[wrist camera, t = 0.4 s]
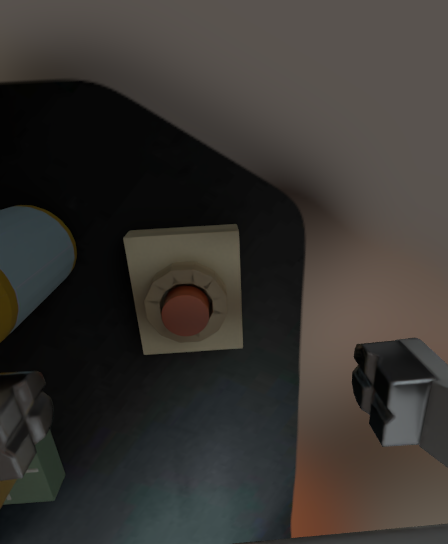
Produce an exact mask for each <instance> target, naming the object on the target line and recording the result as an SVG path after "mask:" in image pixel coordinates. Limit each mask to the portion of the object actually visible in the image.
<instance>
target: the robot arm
mask: <svg viewBox="0 0 448 544" xmlns="http://www.w3.org/2000/svg"><path fill="white" fill-rule="evenodd" d="M354 359H355V360H356V362H357V363H358V366H357V367H356V368H355V370H354V371H353V373H352V385H353V392H354V395H355V398H356V401H357V403H358V405H359V406H360V408H361V409H362V410H363V411H365V412H366V413H368V414H369V415H370V420H369V424H370V426H371V427H372V429H373V431H374V433H375V434H376V436H377V438H378V439H379V441H380V443H381V445H382V446H399V445H415V444H416V445H417V444H420V445H419V446H420V447H421V448H422V449H424V450H425V451H426V452H428V453H429V454H430V455H432V456H433V457H434V458H436V459H437V460H438V461H440V462H441V463H442V464H444V465H445V466H446V467H448V365H447V364H446V363H445V362H444V361H443V360H442V359H441V358H440V357H439V356H438V355H437V354H436V353H434V352H433V351H432V350H431V349H430V348H429V347H428V346H427V345H426V344H425V343H424V342H422V341H421V340H420V339H417V338H408V339H400V340H395V341H385V342H375V343H364V344H357V345H356V348H355V351H354ZM45 385H46V383H45V380H44V378H43V375H42V373H40V372H38V371H27V372H11V373H0V481H4V480H13V479H21V478H23V476H24V475H25V473H26V471H27V469H28V467H29V466H30V464H31V462H32V460H33V459H34V457H35V455H36V453H37V451H36V447H35V445H36V444H37V443H38V442H40V441H41V440H42V439H43V438H45V437H46V435H47V433H48V431H49V430H50V428H51V425H52V420H53V415H54V412H53V404H52V401H51V398H50V397H49V396H48V395H46V394H45V393H44V392H43V389H44V387H45ZM234 544H448V524H441V525H440V524H439V525H429V526H418V527H406V528H396V529H385V530H375V531H364V532H353V533H342V534H331V535H321V536H311V537H299V538H288V539H278V540H267V541H256V542H245V543H234Z"/></svg>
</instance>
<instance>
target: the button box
mask: <svg viewBox="0 0 448 544" xmlns="http://www.w3.org/2000/svg"><path fill="white" fill-rule="evenodd" d="M123 240H124V246H125V251H126V257H127V263H128V268H129V274H130V280H131V285H132V291H133V296H134V302H135V308H136V313H137V319H138V325H139V330H140V336H141V342H142V347H143V353H144V355H149V354H164V353H178V352H193V351H207V350H222V349H236V348H243V333H242V305H241V277H240V249H239V230H238V227H237V224H228V225H212V226H196V227H179V228H163V229H147V230H131V231H129V232H128V233H127V234H126V235H125V237H124V238H123ZM184 285H189V286H194V287H196V288H198V289H200V290H201V291H203V292H204V293H205V295H206V296H207V298H208V301H209V321H208V324H207V325H206V327H205V328H204V329H203V330H202V331H201V332H199V333H198V334H196V335H193V336H179V335H176V334H174V333H172V332H170V331H169V330H168V329H167V328H166V327H165V326H164V324H163V322H162V318H161V312H162V308H163V304H164V301H165V298H166V296H167V294H168V293H169V292H170V291H171V290H172V289H174V288H176V287H179V286H184Z"/></svg>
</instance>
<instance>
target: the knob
mask: <svg viewBox="0 0 448 544" xmlns="http://www.w3.org/2000/svg"><path fill="white" fill-rule="evenodd" d="M16 480H17V479H13V480H4V481H0V509H1V507H2V505H3V503H4V502H5V500H6V498H7V496H8V494H9V493H10V491H11V489H12V487H13V485H14V484H15V482H16Z"/></svg>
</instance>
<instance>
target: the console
mask: <svg viewBox="0 0 448 544" xmlns="http://www.w3.org/2000/svg"><path fill="white" fill-rule="evenodd" d="M35 447H36V451H37V453H36V455H35V457H34V459H33V460H32V462H31V464H30V466H29V467H28V469H27V471H26V473H25V475H24V476H23V478H21V479H17V480H16V482H15V484H14V485H13V487H12V489H11V491H10V493H9V494H8V496H7V498H6V500H5V502H4V503H3V505H4V504H17V503H30V502H44V501H54V500H55V498H56V496H57V493H58V491H59V489H60V486H61V484H62V482H63V479H64V477H65V472H64V469H63V466H62V463H61V460H60V457H59V454H58V452H57V449H56V446H55V443H54V440H53V437H52V434H51V431H50V430H49V431H48V433H47V435H46V437H45V438H43V439H42V440H41V441H40V442H38V443H37V444H36V445H35Z"/></svg>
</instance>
